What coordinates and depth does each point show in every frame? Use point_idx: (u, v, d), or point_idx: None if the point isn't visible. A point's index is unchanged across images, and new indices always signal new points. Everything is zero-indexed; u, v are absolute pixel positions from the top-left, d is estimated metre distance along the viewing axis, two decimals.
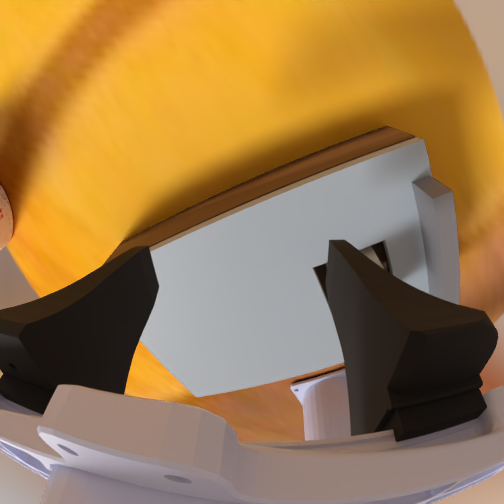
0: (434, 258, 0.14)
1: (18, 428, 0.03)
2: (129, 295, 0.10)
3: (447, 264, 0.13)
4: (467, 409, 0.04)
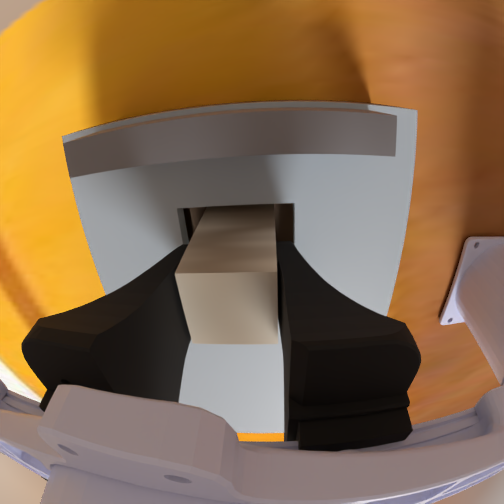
0: None
1: (18, 428, 0.03)
2: None
3: (182, 148, 0.08)
4: (385, 430, 0.04)
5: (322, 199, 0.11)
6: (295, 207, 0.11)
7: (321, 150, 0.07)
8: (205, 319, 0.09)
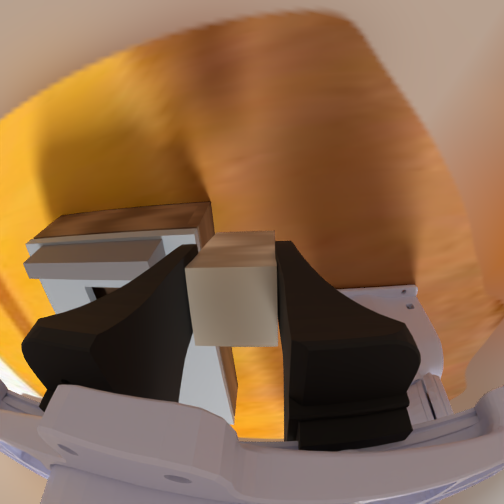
0: None
1: (18, 428, 0.03)
2: (182, 295, 0.10)
3: (67, 274, 0.16)
4: (385, 430, 0.04)
5: None
6: None
7: (117, 279, 0.15)
8: (209, 317, 0.10)
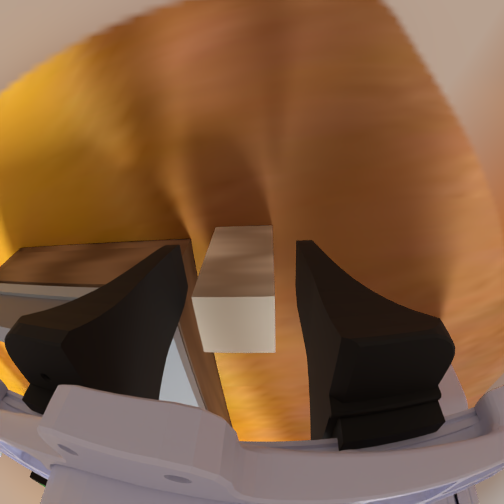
0: None
1: (18, 428, 0.03)
2: (163, 295, 0.10)
3: None
4: (421, 423, 0.04)
5: None
6: None
7: None
8: (215, 332, 0.11)
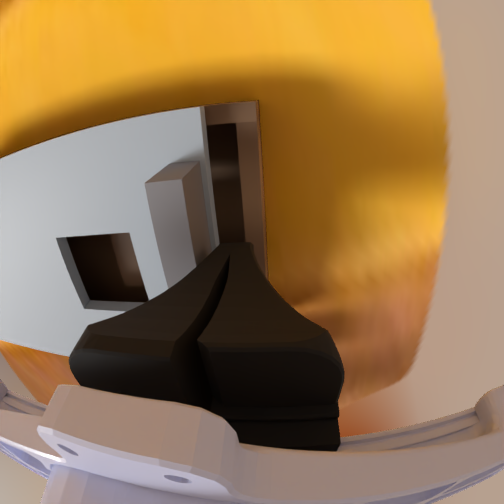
0: None
1: (18, 428, 0.03)
2: None
3: None
4: (309, 440, 0.05)
5: None
6: None
7: None
8: None
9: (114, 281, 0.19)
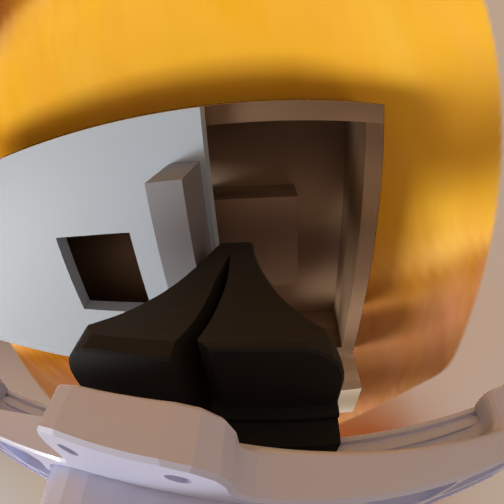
0: None
1: (18, 428, 0.03)
2: None
3: None
4: (309, 440, 0.05)
5: None
6: None
7: None
8: None
9: None
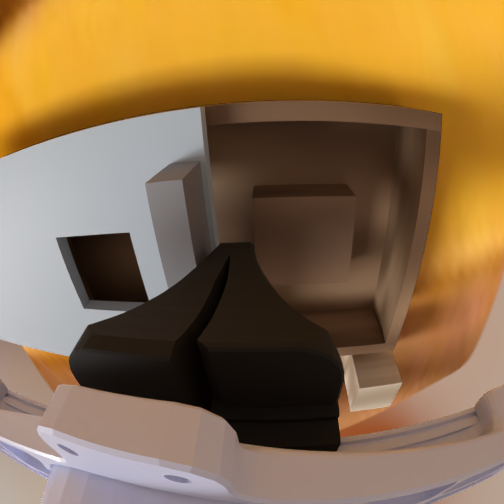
0: None
1: (18, 428, 0.03)
2: None
3: None
4: (309, 440, 0.05)
5: None
6: None
7: None
8: (374, 391, 0.16)
9: None
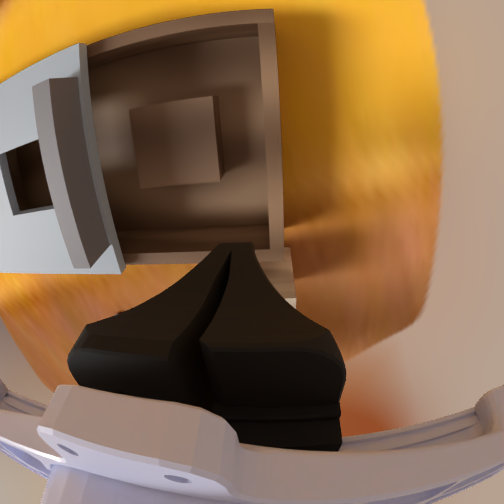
0: None
1: (18, 428, 0.03)
2: None
3: (48, 162, 0.11)
4: (311, 440, 0.05)
5: None
6: (52, 209, 0.15)
7: (62, 232, 0.13)
8: None
9: (127, 196, 0.20)
